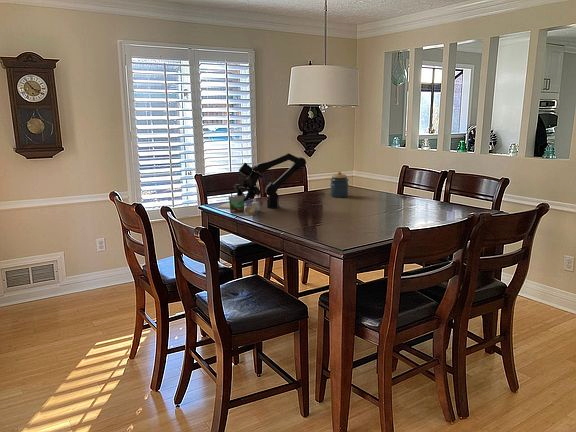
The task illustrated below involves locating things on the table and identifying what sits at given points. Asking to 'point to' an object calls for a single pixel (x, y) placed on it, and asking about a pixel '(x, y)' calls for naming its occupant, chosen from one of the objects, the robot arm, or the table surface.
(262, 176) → the robot arm
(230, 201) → the food container
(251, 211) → the birch block
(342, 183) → the canister
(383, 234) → the table surface
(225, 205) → the cream tile
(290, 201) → the table surface
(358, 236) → the table surface
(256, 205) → the grey plastic cylinder
